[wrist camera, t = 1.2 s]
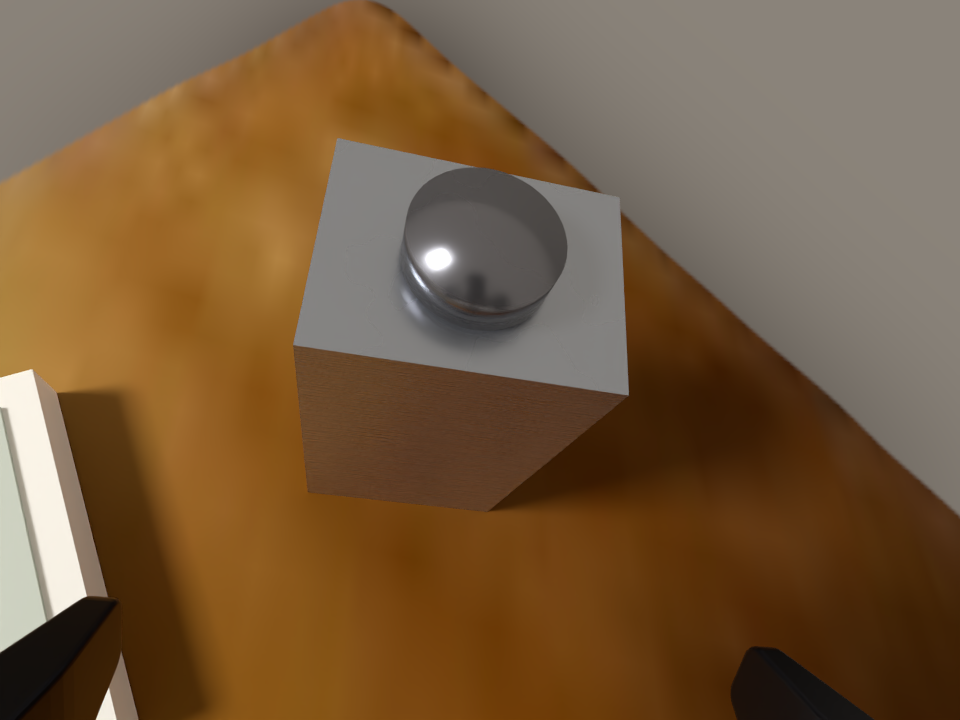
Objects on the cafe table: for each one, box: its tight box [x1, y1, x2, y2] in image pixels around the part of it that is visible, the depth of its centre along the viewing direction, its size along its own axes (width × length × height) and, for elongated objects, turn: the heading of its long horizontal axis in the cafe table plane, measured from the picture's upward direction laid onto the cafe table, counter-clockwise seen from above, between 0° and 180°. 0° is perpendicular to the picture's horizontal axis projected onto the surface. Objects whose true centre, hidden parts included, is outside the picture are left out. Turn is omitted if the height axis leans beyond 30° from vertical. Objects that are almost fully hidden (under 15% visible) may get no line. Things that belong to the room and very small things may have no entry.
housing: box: [293, 138, 629, 512], centre depth 18 cm, size 5×6×13 cm
